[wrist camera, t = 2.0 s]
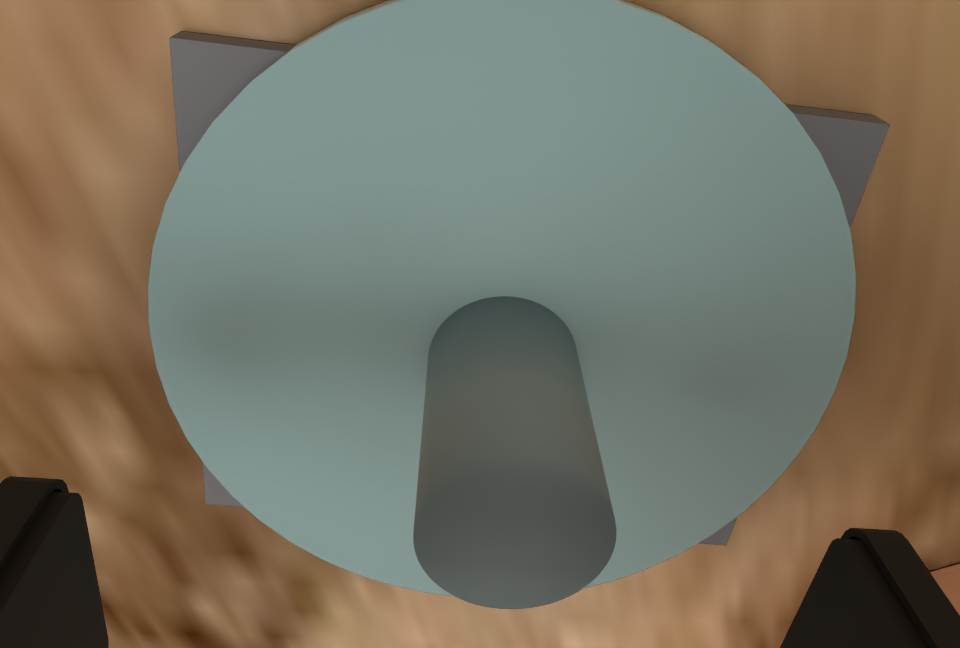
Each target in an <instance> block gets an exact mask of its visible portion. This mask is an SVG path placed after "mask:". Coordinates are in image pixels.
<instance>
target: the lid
mask: <svg viewBox="0 0 960 648" xmlns="http://www.w3.org/2000/svg"><path fill="white" fill-rule="evenodd" d="M855 295H856V270H855V262H854V253H853V245H852V236H851V232H850V228H849V225H848V221H847V218H846V214H845V211H844V207H843V204H842V200H841V197H840V193H839V191H838V189H837V187H836V185H835V183H834V181H833V179H832V176H831V174H830V172H829V170H828V168H827V166H826V164H825V162H824V159H823V157H822V155H821V153H820V151H819V150H818V149H817V147H816V146H815V144H814V143H813V141H812V140H811V138H810V137H809V136H808V134H807V133H806V131H805V130H804V128H803V127H802V125H801V124H800V122H799V121H798V120H797V118H796V117H795V115H794V114H793V113H792V112H791V111H790V110H789V109H788V107H787V106H786V105H785V104H784V103H783V102H782V101H781V100H780V99H779V98H778V97H777V96H776V95H775V94H774V93H773V92H772V91H771V90H770V89H769V88H768V87H767V86H766V85H765V84H764V82H763V81H762V80H761V79H760V78H759V77H757V76H756V75H755V74H753V73H752V72H751V71H749V70H748V69H747V68H745V67H744V66H743V65H741V64H740V63H739V62H737V61H736V60H735V59H733V58H732V57H731V56H730V55H728V54H727V53H726V52H724V51H723V50H722V49H720V48H719V47H718V46H716V45H715V44H713V43H712V42H710V41H709V40H707V39H706V38H705V37H703V36H701V35H699V34H697V33H695V32H694V31H692V30H690V29H688V28H686V27H684V26H683V25H681V24H679V23H677V22H675V21H673V20H671V19H670V18H668V17H666V16H664V15H662V14H660V13H658V12H655V11H653V10H650V9H647V8H644V7H642V6H639V5H636V4H633V3H630V2H628V1H625V0H388V1H385V2H382V3H380V4H377V5H375V6H372V7H370V8H367V9H364V10H362V11H359V12H357V13H354V14H352V15H349V16H346V17H344V18H342V19H340V20H339V21H337V22H335V23H333V24H332V25H330V26H328V27H326V28H325V29H323V30H321V31H319V32H317V33H316V34H314V35H312V36H310V37H309V38H307V39H305V40H303V41H302V42H300V43H298V44H297V45H296V46H294V47H293V48H292V49H291V50H289V51H288V52H287V53H286V54H284V55H283V56H282V57H280V58H279V59H278V60H277V61H275V62H274V63H273V64H271V65H270V66H269V67H268V68H266V69H265V70H264V71H263V72H261V73H260V74H259V75H258V76H257V77H256V78H255V79H253V80H252V81H251V82H250V83H249V84H248V85H247V86H246V87H245V88H244V89H243V90H242V91H241V93H240V94H239V95H238V96H237V97H236V98H235V99H234V100H233V101H232V102H231V103H230V104H229V105H228V106H227V107H226V108H225V110H224V111H223V112H222V113H221V114H220V115H219V116H218V117H217V118H216V119H215V120H214V121H213V122H212V124H211V125H210V127H209V128H208V129H207V131H206V132H205V134H204V135H203V137H202V138H201V140H200V141H199V143H198V144H197V146H196V147H195V148H194V150H193V151H192V153H191V154H190V156H189V157H188V159H187V160H186V162H185V163H184V165H183V168H182V170H181V172H180V174H179V176H178V178H177V180H176V182H175V184H174V187H173V189H172V191H171V193H170V195H169V197H168V199H167V201H166V203H165V207H164V210H163V214H162V217H161V220H160V224H159V227H158V231H157V234H156V238H155V241H154V244H153V250H152V258H151V266H150V274H149V282H148V309H149V330H150V336H151V341H152V346H153V352H154V357H155V362H156V368H157V370H158V373H159V376H160V379H161V382H162V385H163V388H164V391H165V394H166V397H167V399H168V402H169V405H170V407H171V409H172V411H173V413H174V415H175V417H176V419H177V420H178V422H179V424H180V426H181V428H182V430H183V432H184V434H185V436H186V438H187V439H188V441H189V442H190V444H191V445H192V447H193V448H194V450H195V451H196V452H197V454H198V455H199V457H200V458H201V460H202V461H203V463H204V464H205V465H206V467H207V468H208V470H209V471H210V472H211V473H212V474H213V475H214V476H215V477H216V478H217V480H218V481H219V482H220V483H221V484H222V485H223V486H224V487H225V489H226V490H227V491H228V492H229V493H230V494H231V495H232V496H233V497H234V498H235V499H236V500H237V501H238V502H239V503H241V504H242V505H243V506H244V507H245V508H246V509H247V510H249V511H250V512H251V513H252V514H253V515H254V516H255V517H257V518H258V519H259V520H260V521H261V522H263V523H264V524H265V525H267V526H268V527H270V528H271V529H273V530H274V531H276V532H277V533H278V534H280V535H281V536H283V537H284V538H286V539H287V540H288V541H290V542H291V543H293V544H295V545H297V546H299V547H301V548H302V549H304V550H306V551H308V552H310V553H311V554H313V555H315V556H317V557H319V558H321V559H322V560H324V561H327V562H329V563H332V564H334V565H336V566H339V567H341V568H343V569H346V570H348V571H350V572H353V573H355V574H358V575H361V576H364V577H367V578H370V579H374V580H377V581H380V582H383V583H386V584H390V585H393V586H398V587H402V588H407V589H412V590H416V591H421V592H426V593H433V594H441V595H450V596H455V597H457V598H460V599H462V600H464V601H467V602H470V603H473V604H476V605H481V606H485V607H491V608H500V609H522V608H531V607H538V606H542V605H546V604H550V603H553V602H556V601H559V600H562V599H564V598H566V597H568V596H570V595H573V594H574V593H576V592H578V591H579V590H581V589H583V588H586V587H591V586H595V585H599V584H603V583H607V582H611V581H614V580H617V579H619V578H622V577H625V576H628V575H631V574H634V573H637V572H639V571H642V570H645V569H648V568H650V567H652V566H654V565H656V564H658V563H661V562H663V561H665V560H667V559H669V558H672V557H674V556H676V555H678V554H680V553H682V552H684V551H685V550H687V549H689V548H690V547H692V546H694V545H696V544H697V543H699V542H701V541H702V540H704V539H706V538H708V537H709V536H711V535H713V534H714V533H715V532H717V531H718V530H719V529H721V528H722V527H724V526H725V525H726V524H728V523H729V522H730V521H732V520H733V519H735V518H736V517H737V516H739V515H740V514H741V513H743V512H744V511H745V510H746V509H747V508H748V507H749V506H750V505H751V504H753V503H754V502H755V501H756V500H757V499H758V498H759V497H760V496H761V495H762V494H764V493H765V492H766V491H767V490H768V489H769V488H770V487H771V486H772V485H773V484H774V483H775V481H776V480H777V479H778V478H779V477H780V476H781V475H782V473H783V472H784V471H785V470H786V469H787V468H788V467H789V465H790V464H791V463H792V462H793V461H794V460H795V458H796V457H797V456H798V454H799V453H800V451H801V450H802V448H803V447H804V445H805V444H806V442H807V441H808V439H809V438H810V437H811V435H812V434H813V432H814V431H815V429H816V428H817V426H818V424H819V422H820V420H821V418H822V416H823V414H824V412H825V410H826V408H827V406H828V404H829V402H830V400H831V398H832V396H833V394H834V392H835V389H836V386H837V384H838V381H839V378H840V375H841V372H842V369H843V366H844V363H845V361H846V358H847V354H848V349H849V343H850V338H851V333H852V328H853V323H854V318H855Z"/></svg>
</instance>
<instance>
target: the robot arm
mask: <svg viewBox="0 0 960 648" xmlns="http://www.w3.org/2000/svg"><path fill="white" fill-rule="evenodd" d="M0 648H108V635H107V629H106V624H105V619H104V613H103V608H102V603H101V597H100V592H99V586H98V581H97V576H96V570H95V565H94V560H93V554H92V549H91V544H90V538H89V533H88V527H87V522H86V517H85V511H84V506H83V501H82V498H81V496H80V495H79V493H69V491H68V488H67V485H66V483H65V482H64V481H63V480H59V479H45V478H28V477H12V476H10V477H8V478H6V479H4V480H3V481H2V482H1V483H0ZM780 648H960V615H959V614H958V612H957V611H956V609H955V608H954V606H953V605H952V604H951V602H950V601H949V599H948V598H947V596H946V595H945V593H944V592H943V591H942V589H941V588H940V586H939V585H938V583H937V582H936V580H935V579H934V578H933V576H932V575H931V573H930V572H929V570H928V569H927V567H926V566H925V565H924V563H923V562H922V560H921V559H920V557H919V556H918V554H917V553H916V552H915V550H914V549H913V547H912V546H911V544H910V543H909V541H908V540H907V539H906V538H905V537H904V536H903V535H902V534H901V533H899V532H897V531H895V530H878V529H862V528H850V529H848V530H847V531H845V533H844V534H843V535H842V537H841V539H835V540H833V541H832V543H831V544H830V546H829V548H828V550H827V552H826V554H825V556H824V558H823V560H822V562H821V564H820V566H819V568H818V570H817V573H816V575H815V577H814V579H813V581H812V583H811V585H810V587H809V589H808V591H807V593H806V595H805V597H804V599H803V601H802V604H801V606H800V608H799V610H798V612H797V614H796V616H795V618H794V620H793V622H792V624H791V626H790V628H789V630H788V632H787V634H786V637H785V639H784V641H783V643H782V645H781V647H780Z"/></svg>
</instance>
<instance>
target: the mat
mask: <svg viewBox="0 0 960 648" xmlns="http://www.w3.org/2000/svg"><path fill="white" fill-rule="evenodd" d="M169 41H170V54H171V67H172V79H173V92H174V105H175V117H176V130H177V143H178V156H179V168H180V172H181V170H182V168H183V165H184V163H185V162H186V160H187V159H188V157H189V156H190V154H191V153H192V151H193V150H194V148H195V147H196V146H197V144H198V143H199V141H200V140H201V138H202V137H203V135H204V134H205V132H206V131H207V129H208V128H209V127H210V125H211V124H212V122H213V121H214V120H215V119H216V118H217V117H218V116H219V115H220V114H221V113H222V112H223V111H224V110H225V108H226V107H227V106H228V105H229V104H230V103H231V102H232V101H233V100H234V99H235V98H236V97H237V96H238V95H239V94H240V93H241V91H242V90H243V89H244V88H245V87H246V86H247V85H248V84H249V83H250V82H251V81H252V80H253V79H255V78H256V77H257V76H258V75H259V74H260V73H261V72H263V71H264V70H265V69H266V68H268V67H269V66H270V65H271V64H273V63H274V62H275V61H277V60H278V59H279V58H280V57H282V56H283V55H284V54H286V53H287V52H288V51H289V50H291V49H292V48H293V47H294V46H296V45H292V44H284V43H276V42H267V41H259V40H251V39H243V38H234V37H226V36H218V35H210V34H202V33H193V32H185V31H181V32H179V33H177V34H175V35H173V36H171V37H170V38H169ZM785 105H786V104H785ZM786 106H787V107H788V109H789V110H790V111H791V112H792V113H793V114H794V115H795V117H796V118H797V120H798V121H799V122H800V124H801V125H802V127H803V128H804V130H805V131H806V133H807V134H808V136H809V137H810V138H811V140H812V141H813V143H814V144H815V146H816V147H817V149H818V150H819V151H820V153H821V155H822V157H823V159H824V162H825V164H826V166H827V168H828V170H829V172H830V174H831V176H832V179H833V181H834V183H835V185H836V187H837V189H838V191H839V193H840V197H841V200H842V204H843V207H844V211H845V214H846V218H847V221H848V225H849V228H850V226H851V223H852V221H853V218H854V216H855V213H856V210H857V208H858V205H859V203H860V200H861V198H862V195H863V193H864V190H865V187H866V185H867V182H868V180H869V177H870V175H871V172H872V169H873V167H874V164H875V162H876V159H877V157H878V154H879V151H880V149H881V146H882V144H883V141H884V139H885V136H886V133H887V131H888V128H889V126H890V124H888V123H886V122H885V121H883V120H881V119H879V118H878V117H876V116H874V115H868V114H860V113H852V112H843V111H835V110H827V109H819V108H811V107H802V106H794V105H786ZM203 474H204V487H205V499H206V504H214V505H227V506H239V507H244V506H243V505H242V504H241V503H239V502H238V501H237V500H236V499H235V498H234V497H233V496H232V495H231V494H230V493H229V492H228V491H227V490H226V489H225V487H224V486H223V485H222V484H221V483H220V482H219V481H218V480H217V478H216V477H215V476H214V475H213V474H212V473H211V472H210V471H209V470H208V468H207V467H206V465H205V464H204V463H203ZM736 519H737V517H736V518H735V519H733V520H732V521H730V522H729V523H728V524H726V525H725V526H724V527H722V528H721V529H719V530H718V531H717V532H715V533H714V534H713V535H711V536H709V537H708V538H706V539H704V540H702V541H701V542H699V543H702V544H714V545H726V544H727V542H728V539H729V537H730V534H731V531H732V529H733V526H734V524H735V521H736Z"/></svg>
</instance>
